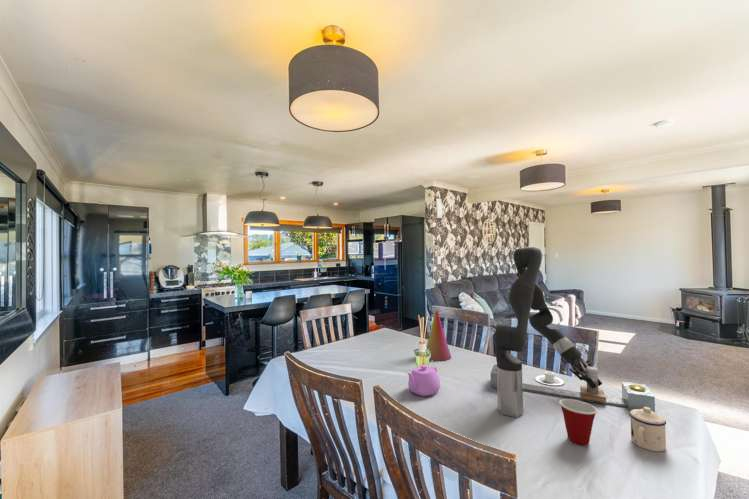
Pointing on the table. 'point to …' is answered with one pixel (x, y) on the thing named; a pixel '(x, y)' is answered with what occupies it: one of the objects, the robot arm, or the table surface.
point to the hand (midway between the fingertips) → (597, 386)
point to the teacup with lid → (648, 429)
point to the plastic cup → (578, 420)
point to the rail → (631, 398)
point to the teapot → (424, 380)
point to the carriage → (594, 393)
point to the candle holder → (549, 378)
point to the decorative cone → (438, 341)
